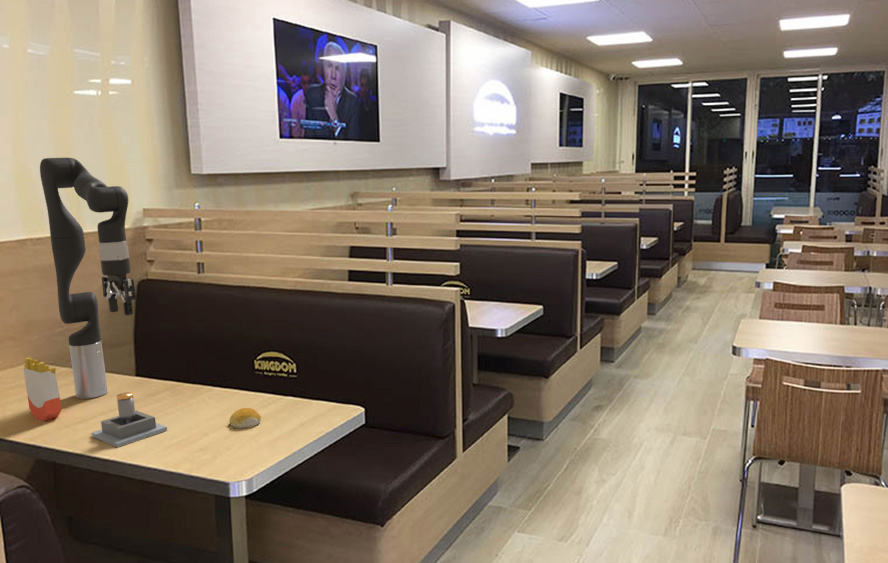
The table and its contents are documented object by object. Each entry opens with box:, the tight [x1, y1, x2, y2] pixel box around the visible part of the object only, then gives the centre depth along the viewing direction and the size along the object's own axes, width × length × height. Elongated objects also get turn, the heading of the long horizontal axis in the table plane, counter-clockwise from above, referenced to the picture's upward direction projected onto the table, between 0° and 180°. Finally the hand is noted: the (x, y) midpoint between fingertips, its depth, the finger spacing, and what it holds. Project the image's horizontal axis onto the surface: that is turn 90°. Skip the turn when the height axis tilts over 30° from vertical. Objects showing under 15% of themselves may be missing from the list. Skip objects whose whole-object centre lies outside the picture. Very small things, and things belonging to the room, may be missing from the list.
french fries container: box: [23, 356, 62, 422], centre depth 211 cm, size 5×11×18 cm, turn 54°
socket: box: [91, 410, 168, 448], centre depth 195 cm, size 14×14×4 cm
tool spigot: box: [116, 391, 136, 426], centre depth 195 cm, size 4×4×10 cm
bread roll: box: [228, 407, 262, 429], centre depth 200 cm, size 8×9×4 cm
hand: (121, 313), depth 207 cm, fingers open, 8 cm apart
